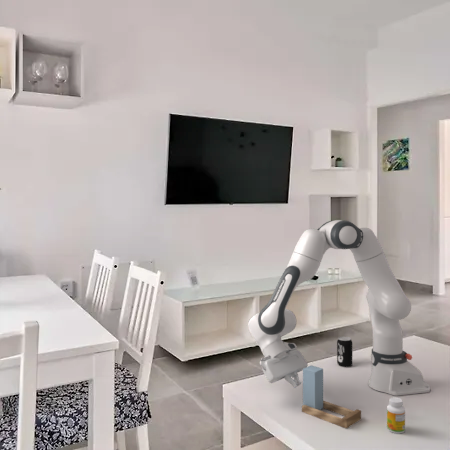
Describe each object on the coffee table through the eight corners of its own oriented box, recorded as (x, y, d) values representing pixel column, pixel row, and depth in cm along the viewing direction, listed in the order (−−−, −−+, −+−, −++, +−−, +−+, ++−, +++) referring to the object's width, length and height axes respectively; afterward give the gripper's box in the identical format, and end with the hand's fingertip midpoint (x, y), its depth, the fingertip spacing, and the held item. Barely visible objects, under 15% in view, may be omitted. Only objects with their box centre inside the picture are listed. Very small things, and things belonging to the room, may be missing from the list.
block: (303, 408, 165) (302, 368, 164) (311, 403, 168) (311, 365, 168) (314, 412, 161) (314, 372, 160) (323, 408, 165) (323, 368, 164)
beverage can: (352, 367, 205) (352, 340, 204) (337, 367, 206) (337, 340, 206) (351, 362, 211) (351, 336, 211) (336, 362, 213) (336, 335, 212)
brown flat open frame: (301, 411, 163) (301, 403, 162) (317, 403, 169) (317, 395, 169) (346, 428, 150) (346, 419, 150) (361, 419, 156) (361, 410, 156)
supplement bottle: (384, 426, 151) (384, 396, 151) (400, 425, 152) (400, 395, 151) (391, 434, 146) (391, 403, 145) (408, 433, 146) (408, 402, 146)
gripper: (262, 355, 167) (284, 389, 160) (297, 342, 181) (319, 373, 174) (253, 364, 170) (274, 398, 164) (288, 351, 185) (309, 382, 178)
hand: (297, 385), depth 169 cm, fingers closed
